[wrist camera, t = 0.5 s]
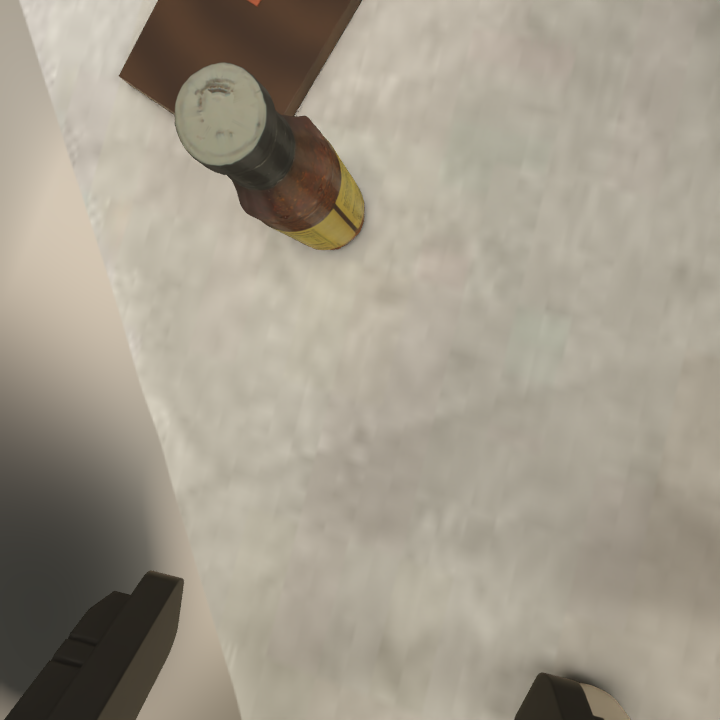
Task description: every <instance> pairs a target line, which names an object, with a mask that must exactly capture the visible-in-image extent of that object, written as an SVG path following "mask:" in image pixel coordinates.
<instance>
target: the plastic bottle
mask: <svg viewBox="0 0 720 720" xmlns="http://www.w3.org/2000/svg"><path fill="white" fill-rule="evenodd" d="M579 684H580V685H581V686H582V688H583V690H584V692H585V695H586V697H587V700H588V703H589V705H590V708H591V711H592V713H593V715H594V716H597V717H601V718H603V719H604V720H631V719H630V718H629V716H628V715H627V714H626V712H625V711H624V710H623V708H622V707H621V706H620V704H619V703H618V702H617V701H616V700H615V699H614V698H613V697H612V696H611V695H610V694H608V693H607V692H605V691H604V690H601V689H599V688H597V687H594V686H592V685H588V684H584V683H579Z"/></svg>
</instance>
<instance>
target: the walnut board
mask: <svg viewBox="0 0 720 720" xmlns="http://www.w3.org/2000/svg"><path fill="white" fill-rule="evenodd" d="M361 1H362V0H158V2H157V3H156V5H155V7H154V9H153V11H152V13H151V15H150V17H149V19H148V21H147V23H146V25H145V27H144V28H143V30H142V32H141V34H140V36H139V38H138V40H137V42H136V44H135V46H134V48H133V50H132V52H131V53H130V55H129V57H128V59H127V61H126V63H125V65H124V67H123V69H122V71H121V73H120V75H119V77H120V78H122V79H123V80H124V81H125V82H127V83H128V84H129V85H130V86H132V87H133V88H135V89H136V90H138V91H139V92H141V93H142V94H144V95H145V96H147V97H148V98H150V99H151V100H153V101H154V102H156V103H158V104H159V105H161V106H162V107H164V108H165V109H167V110H168V111H170V112H171V113H173V114H174V115H175V104H176V100H177V96H178V94H179V92H180V89H181V87H182V85H183V84H184V83H185V82H186V81H187V80H188V79H189V77H190V76H191V75H193V74H194V73H196V72H197V71H199V70H200V69H202V68H204V67H206V66H209V65H212V64H217V63H224V62H225V63H231V64H234V65H236V66H239V67H242V68H244V69H245V70H247V71H248V72H249V73H250V74H252V75H253V76H254V77H255V78H256V79H257V80H258V81H259V82H260V83H261V84H262V85H263V86H264V87H265V88H266V89H267V91H268V92H269V94H270V96H271V98H272V100H273V103H274V106H275V110H276V111H277V112H278V113H279V114H280V115H288V116H294V114H295V113H296V111H297V109H298V108H299V106H300V104H301V102H302V101H303V99H304V97H305V96H306V94H307V92H308V91H309V89H310V87H311V86H312V84H313V82H314V80H315V79H316V77H317V75H318V74H319V72H320V70H321V69H322V67H323V65H324V63H325V62H326V60H327V58H328V57H329V55H330V53H331V52H332V50H333V48H334V47H335V45H336V43H337V41H338V40H339V38H340V36H341V35H342V33H343V31H344V30H345V28H346V26H347V24H348V23H349V21H350V19H351V18H352V16H353V14H354V13H355V11H356V9H357V7H358V6H359V4H360V2H361Z"/></svg>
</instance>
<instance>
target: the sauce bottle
mask: <svg viewBox="0 0 720 720" xmlns="http://www.w3.org/2000/svg"><path fill="white" fill-rule="evenodd" d="M175 126H176V130H177V133H178V136H179V138H180V141H181V143H182V144H183V146H184V148H185V149H186V150H187V151H188V153H189V154H190V155H191V156H192V157H193V158H194V159H195V160H197V161H199V162H200V163H201V164H203V165H204V166H205V167H207V168H208V169H210V170H212V171H214V172H217V173H220V174H223V175H227V176H228V177H229V178H230V179H231V180H232V181H233V184H234V186H235V188H236V190H237V194H238V197H239V201H240V204H241V206H242V208H243V209H244V211H245V212H246V213H247V214H249V215H251V216H253V217H255V218H257V219H259V220H260V221H262V222H263V223H265V224H266V225H268V226H269V227H271V228H273V229H275V230H277V231H279V232H282V233H284V234H286V235H288V236H290V237H292V238H294V239H296V240H298V241H299V242H301V243H303V244H305V245H307V246H309V247H312V248H314V249H318V250H335V249H339V248H341V247H343V246H345V245H347V244H348V243H349V242H350V241H351V240H352V239H354V238H355V236H356V235H357V234H358V233H359V232H360V230H361V228H362V225H363V222H364V201H363V197H362V194H361V192H360V189H359V188H358V186H357V184H356V183H355V181H354V179H353V178H352V176H351V175H350V173H349V172H348V170H347V169H346V167H345V166H344V164H343V163H342V161H341V159H340V158H339V156H338V155H337V153H336V151H335V150H334V148H333V147H332V145H331V144H330V143H329V141H328V140H327V139H326V138H325V137H324V136H323V135H322V133H321V132H320V131H319V130H318V129H317V127H316V126H315V125H314V124H313V123H312V122H311V120H310V119H309V118H308V117H307V116H300V117H296V116H288V115H280V114H279V113H278V112H277V111H276V110H275V106H274V103H273V100H272V98H271V96H270V94H269V92H268V91H267V89H266V88H265V87H264V86H263V85H262V84H261V83H260V82H259V81H258V80H257V79H256V78H255V77H254V76H253V75H252V74H250V73H249V72H248V71H247V70H245V69H244V68H242V67H239V66H236V65H234V64H231V63H225V62H224V63H217V64H212V65H209V66H206V67H204V68H202V69H200V70H199V71H197V72H196V73H194V74H193V75H191V76H190V77H189V79H188V80H187V81H186V82H185V83H184V84H183V85H182V87H181V89H180V92H179V94H178V96H177V100H176V104H175Z"/></svg>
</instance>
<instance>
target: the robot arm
mask: <svg viewBox="0 0 720 720" xmlns="http://www.w3.org/2000/svg"><path fill="white" fill-rule="evenodd" d="M183 585H184V580H183V579H182V578H179V577H175V576H170V575H167V574H163V573H159V572H155V571H148V572H147V573H146V574H145V575H144V577H143V578H142V580H141V581H140V582H139V584H138V585H137V587H136V588H135V590H134V591H133V593H132V594H131V595H129V594H125V593H121V592H117V591H114V592H112V593H111V594H110V595H108V596H106V597H105V598H104V599H102V600H101V601H100V602H98V603H97V604H95V605H94V606H93V607H91V608H90V609H89V610H88V611H87V612H86V614H85V615H84V616H83V617H82V619H81V620H80V621H79V623H78V624H77V625H76V627H75V628H74V629H73V631H72V632H71V633H70V636H69V638H68V639H66V640H65V641H64V643H63V644H62V645H61V646H60V648H59V649H58V650H57V651H56V653H55V654H54V656H53V658H52V660H51V661H49V662H48V663H47V665H46V666H45V667H44V668H43V670H42V671H41V672H40V674H39V675H38V676H37V678H36V679H35V680H34V681H33V683H32V684H31V685H30V687H29V688H28V689H27V691H26V692H25V693H24V694H23V696H22V697H21V698H20V700H19V701H18V702H17V704H16V705H15V706H14V708H13V709H12V710H11V711H10V713H9V714H8V715H7V717H6V718H5V719H4V720H136V718H137V716H138V714H139V712H140V710H141V708H142V706H143V704H144V702H145V700H146V698H147V696H148V694H149V692H150V690H151V688H152V686H153V685H154V683H155V681H156V679H157V677H158V675H159V673H160V671H161V669H162V667H163V665H164V663H165V661H166V659H167V657H168V655H169V653H170V650H171V647H172V645H173V642H174V639H175V636H176V633H177V628H178V622H179V614H180V607H181V600H182V593H183ZM515 720H604V719H603V718H601V717H597V716H594V715H593V713H592V711H591V708H590V705H589V703H588V700H587V697H586V695H585V692H584V690H583V688H582V686H581V685H580V684H579V683H578V682H577V681H574V680H570V679H566V678H562V677H559V676H555V675H551V674H547V673H539V674H538V676H537V677H536V679H535V681H534V683H533V684H532V686H531V688H530V690H529V692H528V694H527V695H526V697H525V699H524V701H523V703H522V705H521V707H520V708H519V710H518V712H517V714H516V716H515Z"/></svg>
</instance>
